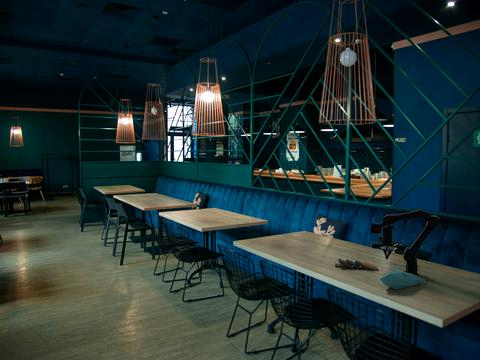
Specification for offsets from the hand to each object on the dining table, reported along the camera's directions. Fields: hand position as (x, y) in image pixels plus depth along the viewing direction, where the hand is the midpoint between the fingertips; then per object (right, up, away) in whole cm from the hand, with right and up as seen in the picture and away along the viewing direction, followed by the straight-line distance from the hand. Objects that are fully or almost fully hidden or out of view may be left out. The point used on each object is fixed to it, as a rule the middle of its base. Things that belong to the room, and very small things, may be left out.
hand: (386, 259), depth 226 cm
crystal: (-2, -9, -27) cm, 29 cm away
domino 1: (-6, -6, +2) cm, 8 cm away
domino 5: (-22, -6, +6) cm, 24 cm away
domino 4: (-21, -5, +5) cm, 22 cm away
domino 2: (-11, -6, +3) cm, 12 cm away
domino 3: (-16, -5, +4) cm, 18 cm away
